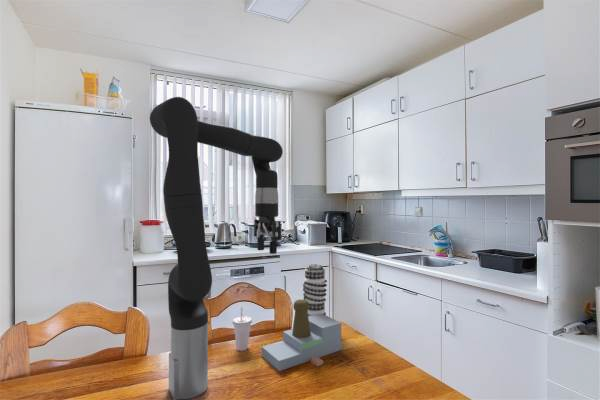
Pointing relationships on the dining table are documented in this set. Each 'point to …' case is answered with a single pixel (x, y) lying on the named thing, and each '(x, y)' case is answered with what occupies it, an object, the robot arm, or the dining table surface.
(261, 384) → the dining table surface
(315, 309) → the decorative candle
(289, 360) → the step stand
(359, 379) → the dining table surface
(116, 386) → the dining table surface
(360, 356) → the dining table surface
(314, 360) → the pointer
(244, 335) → the smoothie
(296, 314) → the olive green pepper mill
